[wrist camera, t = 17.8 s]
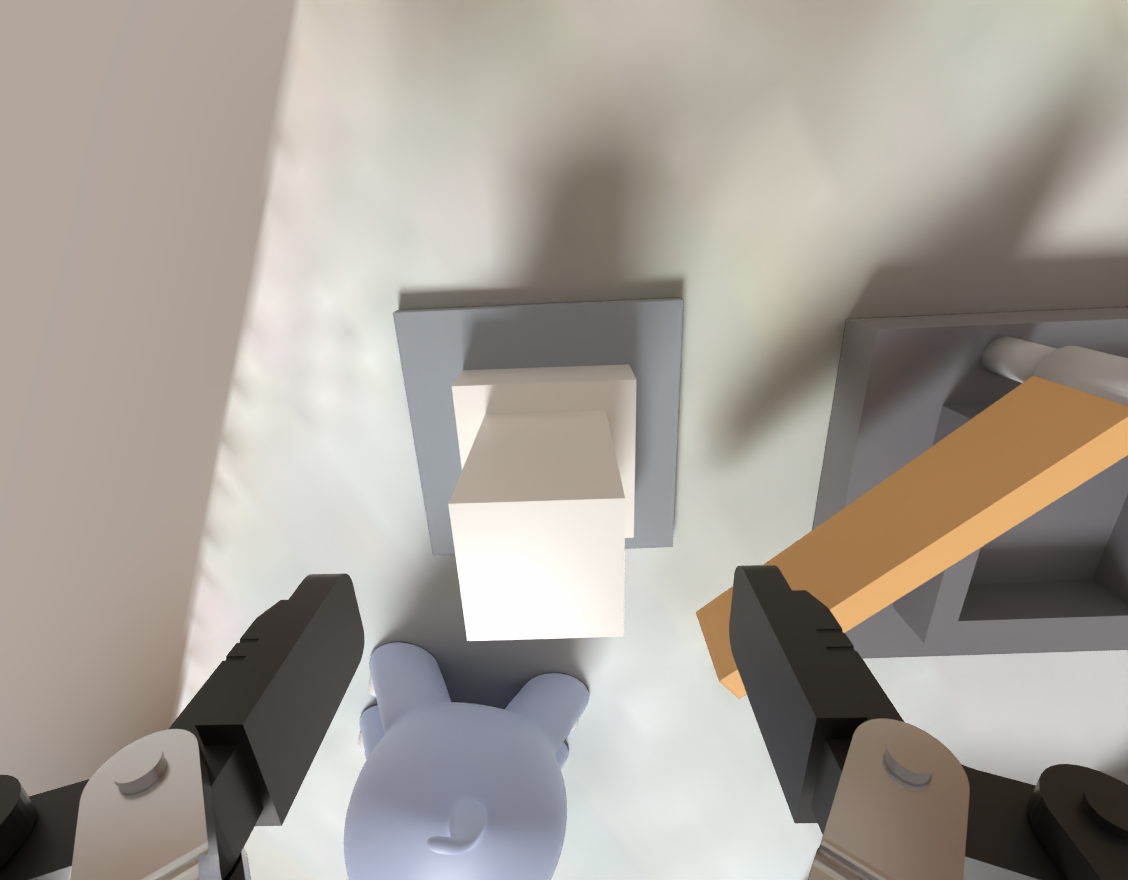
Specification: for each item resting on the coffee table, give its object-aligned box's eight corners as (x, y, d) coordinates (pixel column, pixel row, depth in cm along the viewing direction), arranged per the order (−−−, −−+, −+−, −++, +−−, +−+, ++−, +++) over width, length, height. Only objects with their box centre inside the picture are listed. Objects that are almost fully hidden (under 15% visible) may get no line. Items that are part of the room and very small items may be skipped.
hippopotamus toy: (347, 807, 29) (254, 1058, 20) (379, 596, 24) (271, 818, 15) (535, 838, 30) (523, 1090, 21) (608, 643, 25) (633, 876, 16)
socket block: (1245, 301, 19) (1420, 321, 15) (1105, 616, 24) (1207, 690, 20) (846, 319, 19) (917, 343, 15) (796, 626, 24) (839, 701, 20)
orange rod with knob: (1101, 373, 15) (1221, 408, 12) (718, 633, 19) (745, 704, 16) (1077, 334, 15) (1196, 359, 12) (690, 607, 18) (713, 675, 16)
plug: (629, 364, 19) (671, 456, 11) (627, 510, 21) (661, 665, 14) (462, 370, 19) (397, 465, 11) (479, 514, 21) (433, 671, 14)
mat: (679, 297, 18) (683, 300, 18) (669, 538, 22) (672, 546, 22) (397, 310, 19) (392, 312, 18) (436, 547, 22) (433, 555, 22)
